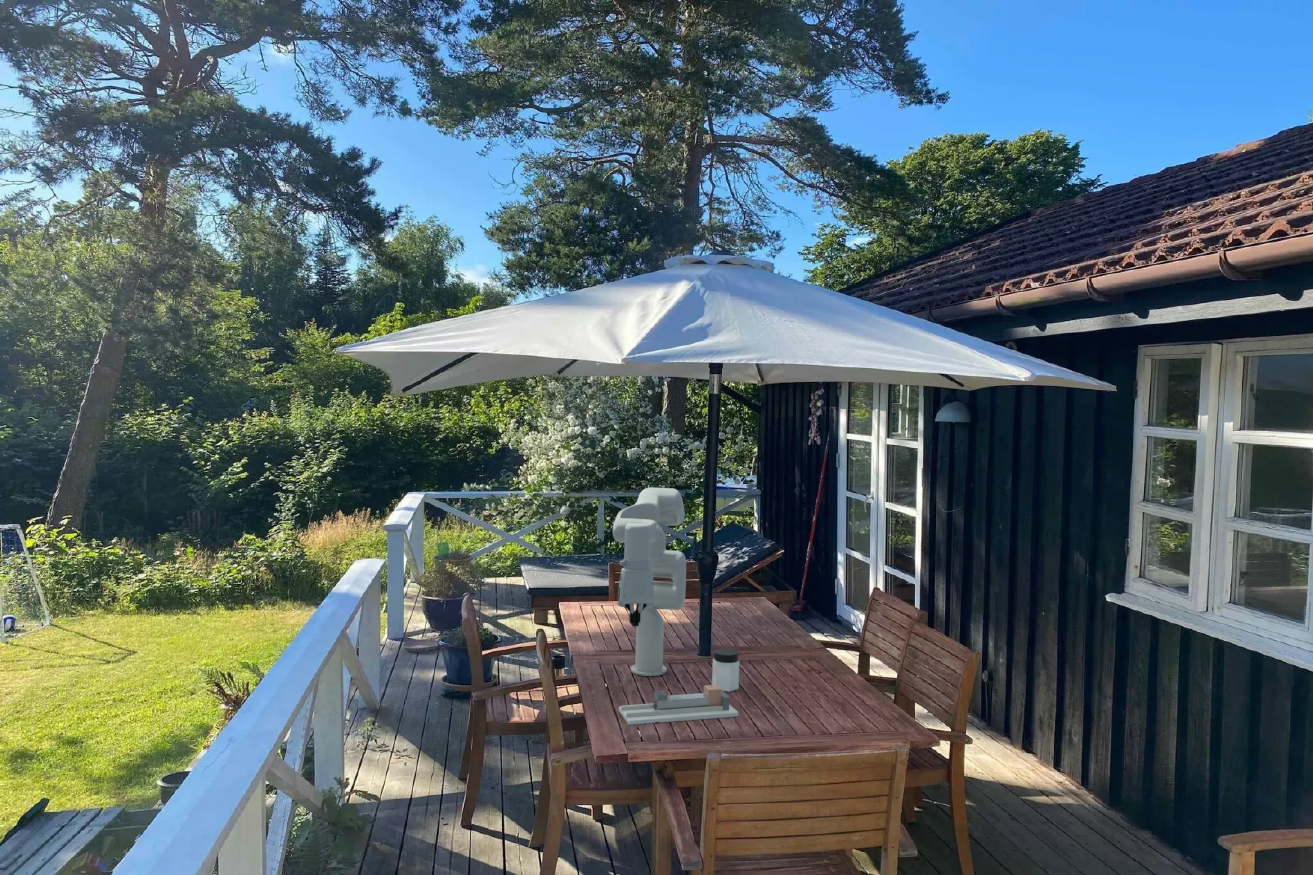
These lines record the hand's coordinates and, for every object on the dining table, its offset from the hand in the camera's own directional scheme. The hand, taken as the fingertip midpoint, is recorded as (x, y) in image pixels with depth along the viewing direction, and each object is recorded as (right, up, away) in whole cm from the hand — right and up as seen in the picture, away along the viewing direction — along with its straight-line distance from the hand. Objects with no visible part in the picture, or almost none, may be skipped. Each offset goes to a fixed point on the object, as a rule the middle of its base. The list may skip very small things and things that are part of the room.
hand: (634, 625), depth 256 cm
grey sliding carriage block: (+14, -26, +3) cm, 30 cm away
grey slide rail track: (+13, -27, +3) cm, 30 cm away
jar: (+29, -27, +29) cm, 49 cm away
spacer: (+23, -26, +6) cm, 36 cm away
